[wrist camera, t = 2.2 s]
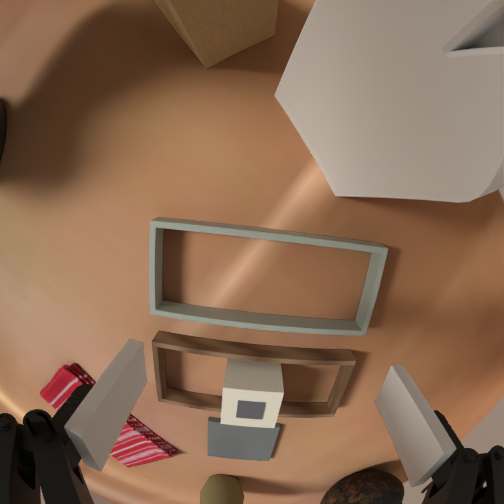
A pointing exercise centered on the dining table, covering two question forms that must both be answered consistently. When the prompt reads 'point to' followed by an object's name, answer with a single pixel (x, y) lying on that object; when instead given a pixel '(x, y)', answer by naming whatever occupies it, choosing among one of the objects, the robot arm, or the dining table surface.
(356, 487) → the glass bottle
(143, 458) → the dish towel
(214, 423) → the slate tile
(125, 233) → the dining table surface
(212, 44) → the sandwich container
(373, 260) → the grey frame
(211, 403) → the walnut frame
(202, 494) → the squeeze bottle
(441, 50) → the milk
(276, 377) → the cream cube
